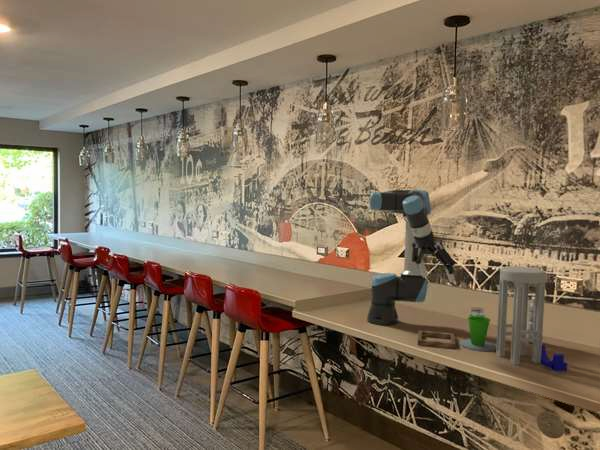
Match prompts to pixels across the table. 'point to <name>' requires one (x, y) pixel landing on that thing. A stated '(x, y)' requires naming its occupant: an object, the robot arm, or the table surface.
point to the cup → (478, 329)
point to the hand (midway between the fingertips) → (438, 277)
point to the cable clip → (553, 361)
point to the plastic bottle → (531, 317)
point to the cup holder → (436, 343)
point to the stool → (521, 312)
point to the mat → (486, 347)
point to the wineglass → (477, 312)
